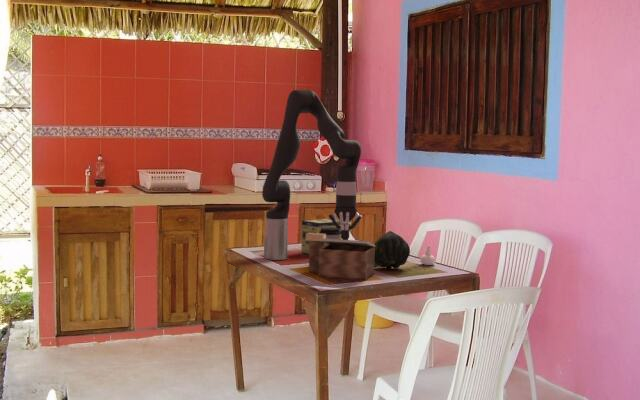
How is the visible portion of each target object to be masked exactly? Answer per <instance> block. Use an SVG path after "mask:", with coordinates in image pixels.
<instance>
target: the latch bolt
mask: <svg viewBox="0 0 640 400" xmlns="http://www.w3.org/2000/svg"><path fill="white" fill-rule="evenodd" d="M320 238H321V239H326V234H321V233H307V234H306V240H307V241H319V240H320Z"/></svg>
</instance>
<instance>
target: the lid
mask: <svg viewBox="0 0 640 400" xmlns="http://www.w3.org/2000/svg"><path fill="white" fill-rule="evenodd" d="M319 241H322V242H325V243H328V244H334V245H350V246H366V247H375V245H374V244H375V243H373V242H370V241H368V240H367V241H366V240H351V239H350V240H349V239H348V240H343V239H342V240H338V239H321V238H320V240H319Z"/></svg>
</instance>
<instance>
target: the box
mask: <svg viewBox="0 0 640 400" xmlns="http://www.w3.org/2000/svg"><path fill="white" fill-rule="evenodd" d="M374 258H375V247H366V246H350V245H334V244H329V245H327V246H325V242H322V241H309V255H308V273H315V274H316V273H317V274H318V277H319V278H326V279H327V278H328V279H339V280H340V279H343V280H353V281H354V280H355V281H368V280H369V279H370V278H371V277H372V276H373V275H375V266H374Z"/></svg>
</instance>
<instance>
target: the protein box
mask: <svg viewBox="0 0 640 400" xmlns="http://www.w3.org/2000/svg"><path fill="white" fill-rule="evenodd" d="M337 221H338V222H339V223H340V220H337ZM340 225H341V224H340ZM321 228H336V226H335V225H334V223H333V222H332V220H331V219H330V218H324V219H323V218H322V219H312V220H301V254H303V255H306V256H309V241H307V240H306V234H307V233H319V231H321ZM340 231H341V229H340ZM340 240H343V239H341V234H340Z"/></svg>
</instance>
